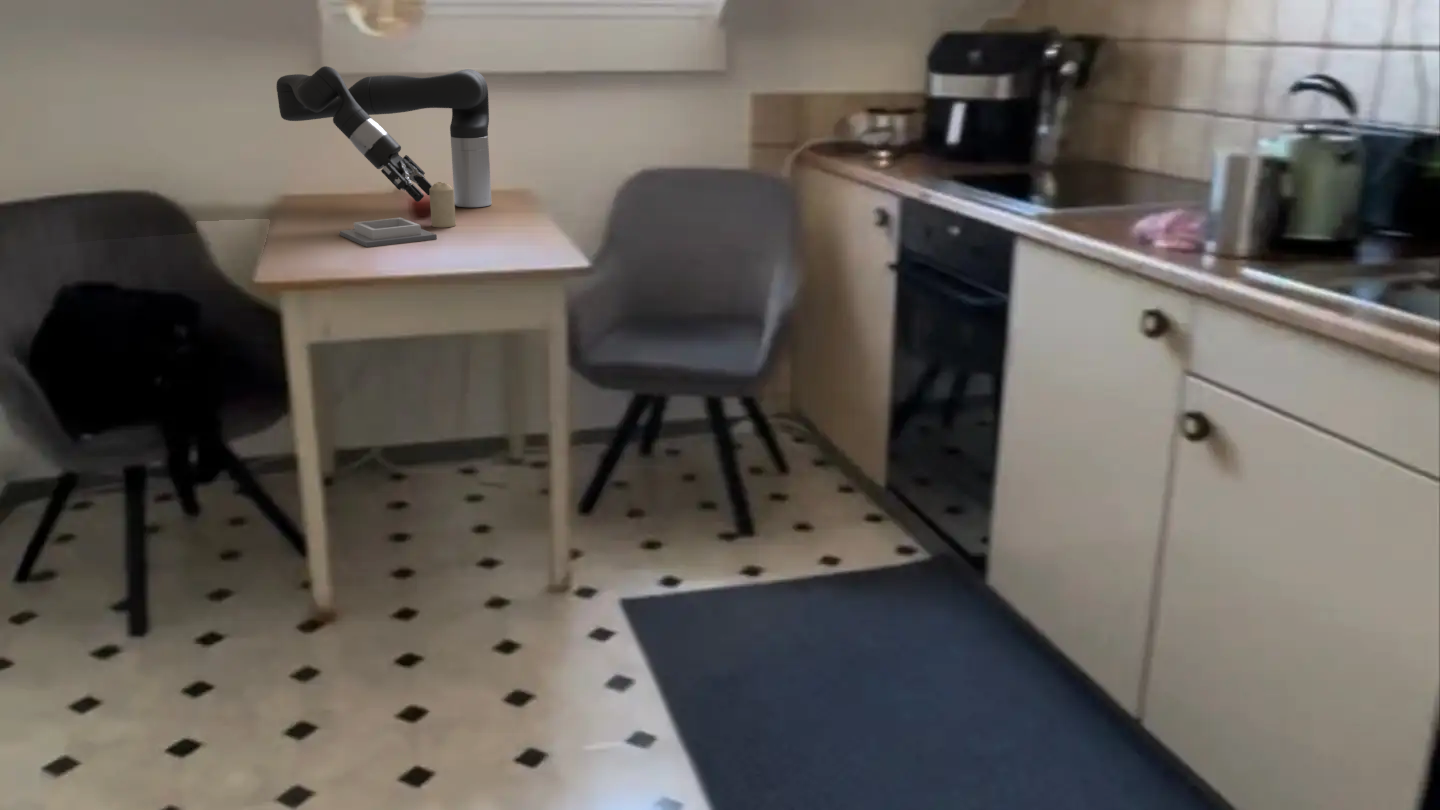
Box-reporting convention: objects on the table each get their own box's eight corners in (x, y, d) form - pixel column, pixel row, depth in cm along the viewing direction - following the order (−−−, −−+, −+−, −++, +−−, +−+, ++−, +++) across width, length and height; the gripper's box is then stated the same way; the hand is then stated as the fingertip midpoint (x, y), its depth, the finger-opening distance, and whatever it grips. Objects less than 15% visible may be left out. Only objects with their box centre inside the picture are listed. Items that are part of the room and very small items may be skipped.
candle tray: (339, 235, 277) (338, 221, 276) (407, 227, 286) (406, 214, 285) (366, 247, 265) (365, 233, 264) (436, 239, 274) (435, 225, 273)
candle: (460, 225, 289) (458, 182, 286) (440, 228, 285) (437, 185, 282) (446, 222, 293) (444, 180, 289) (426, 225, 289) (424, 182, 285)
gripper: (375, 150, 291) (425, 201, 294) (353, 159, 277) (406, 212, 280) (396, 128, 288) (446, 180, 292) (375, 136, 275) (428, 190, 278)
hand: (426, 196), depth 286 cm, fingers open, 8 cm apart
